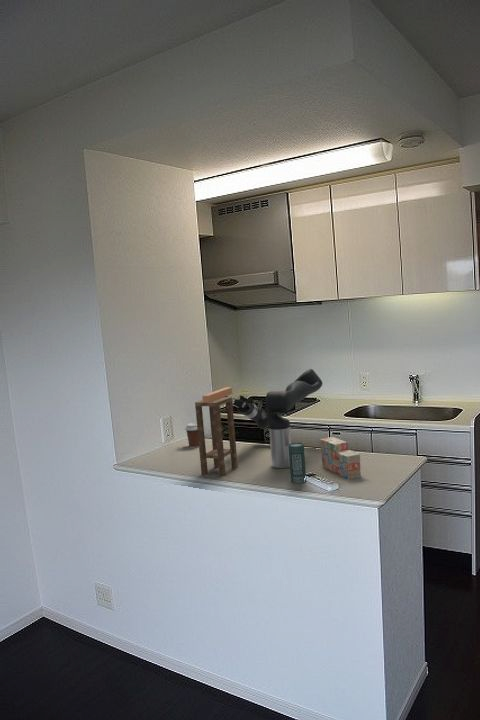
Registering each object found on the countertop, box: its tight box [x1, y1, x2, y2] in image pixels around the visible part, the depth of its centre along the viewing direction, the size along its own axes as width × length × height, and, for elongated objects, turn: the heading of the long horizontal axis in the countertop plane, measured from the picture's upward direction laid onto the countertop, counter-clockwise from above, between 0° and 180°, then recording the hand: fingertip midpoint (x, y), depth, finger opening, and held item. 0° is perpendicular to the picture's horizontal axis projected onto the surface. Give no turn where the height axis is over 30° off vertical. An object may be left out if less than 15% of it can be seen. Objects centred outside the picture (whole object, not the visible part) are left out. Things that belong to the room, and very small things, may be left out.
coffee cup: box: [184, 422, 199, 449], centre depth 296 cm, size 9×9×12 cm
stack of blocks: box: [319, 436, 362, 479], centre depth 236 cm, size 21×6×12 cm, turn 21°
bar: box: [202, 386, 233, 403], centre depth 250 cm, size 21×3×3 cm, turn 152°
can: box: [288, 442, 307, 484], centre depth 227 cm, size 6×6×15 cm
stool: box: [194, 396, 239, 477], centre depth 248 cm, size 11×13×32 cm
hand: (232, 397), depth 263 cm, fingers open, 8 cm apart
